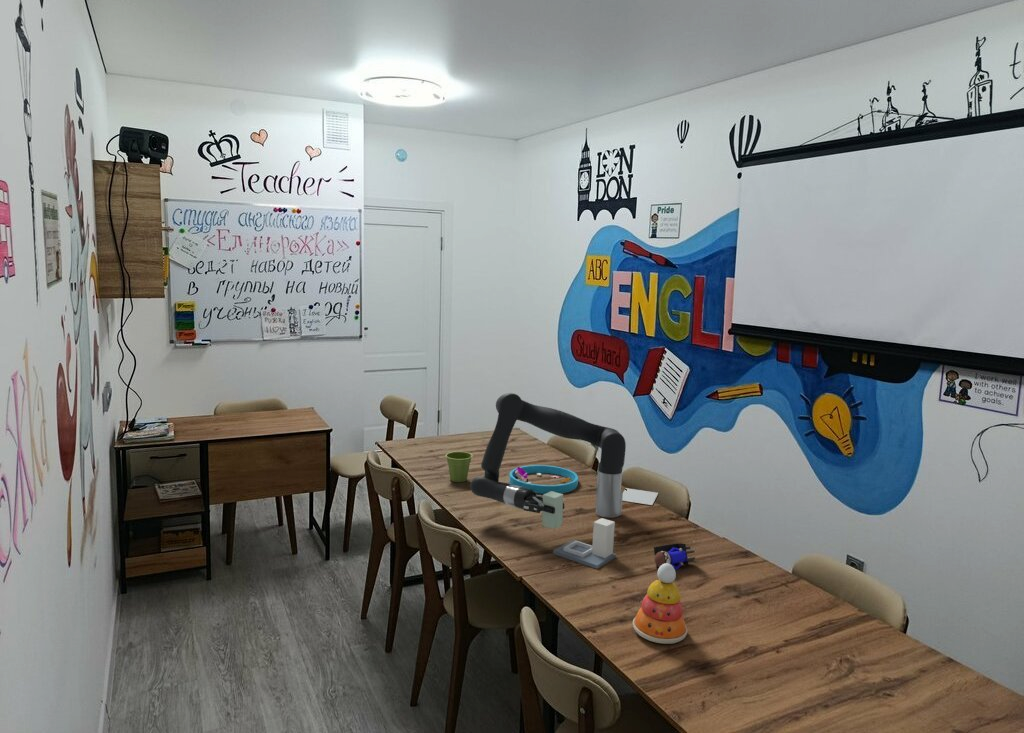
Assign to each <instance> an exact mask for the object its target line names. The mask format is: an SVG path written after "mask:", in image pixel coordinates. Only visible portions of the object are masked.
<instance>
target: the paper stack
mask: <svg viewBox="0 0 1024 733" xmlns="http://www.w3.org/2000/svg"><path fill="white" fill-rule="evenodd" d="M625 489H627V491H626V490H625ZM625 489H624V490H623V499H622V502H630V503H636V504H642V505H650V506H653V504H654V503H655V500H656V499H657V496H658V495H659V492H655V491H649V490H643V489H635V488H628V487H626V488H625Z"/></svg>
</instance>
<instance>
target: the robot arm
mask: <svg viewBox="0 0 1024 733" xmlns="http://www.w3.org/2000/svg"><path fill="white" fill-rule="evenodd" d="M495 408H496V411H497V413H498V416H497V421H496V424H495V428H494V430H493V432H492V434H491V437H490V438H489V442H488V443H487V446H486V449H485V451H484V454H483V458H482V461H481V465H480V467H481V469H482V470H484V476H476V477H474V478H473V479H472V480H471V482H470V486H469V487H470V491H471V492H472V493H473V494H474V495H475V496H478V497H482V498H485V499H486V498H487V499H491V500H493V501H496V502H499V503H503V504H506V505H508V506H511V507H514V508H516V509H519V510H522V511H526V512H529V513H530V512H531V513H536V514H540V513H542V512H548V513H551V514H554V513H555V507H552V506H548V505H545V504H543V495H542V494H537V493H535V492H534V491H533V490H532V489H528V488H525V487H521V486H517V485H511V484H510V483H507V482H500V481H499V479H500V468H501V466H502V463H503V459H504V457H505V453H506V449H507V446H508V443H509V439H510V436H511V433H512V432H513V429H514V426H515V424H516V422H517V421H520V422H524V423H527V424H530V425H532V426H534V427H536V428H538V429H540V430H542V431H544V432H547V433H550V434H551V435H555V436H558V437H561V438H565V439H569V440H576V441H577V440H578V441H579V440H580V441H584V442H587V443H589V444H592V445H594V446H596V447H598V448H600V449H601V453H600V460H599V462H598V465H597V481H596V482H597V483H596V498H595V500H596V501H595V514H596V515H597V516H599V517H601V518H605V519H609V518H610V519H611V518H617V517H619V516H622V512H623V511H622V510H623V501H622V499H623V492H624V490H622V479H623V478H622V477H623V468H624V465H625V459H626V458H625V457H626V448H627V447H626V445H627V443H626V439H625V437H624V436H623V434H621V432H619V430H617V429H614V428H611V427H606V426H602V425H599V424H595V423H591V422H588V421H587V420H584V419H582V418H580V417H577V416H575V415H573V414H570V413H568V412H565V411H562V410H560V409H555V408H552V407H548V406H547V407H546V406H543V405H542V406H541V405H536V404H532V403H530V402H528V401H525V400H523V399H522V398H521V396H519V395H518V394H516V393H512V392H510V393H509V392H508V393H504V394H502V395H500V396H499V397H498V398H497V400H496V401H495ZM564 509H565V502H563V510H564Z"/></svg>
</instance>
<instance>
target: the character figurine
mask: <svg viewBox="0 0 1024 733" xmlns="http://www.w3.org/2000/svg"><path fill="white" fill-rule="evenodd" d="M691 549H692V548H691V545H686V543H682V542H681V543H679V542H677V543H671V544H665V545H659V546H657V545H656V546H653V552H654V563H655V566H656V569H659V567H660V566H661V565H662V564H665V563H668V564H670V565H672V566H673V568H674V569H675V571H678V570H679V568H680V567H681V566H683V565H684V566H685V565H686V566H689V563H693V562H695V560H696V557H693V556H692V557H688V554H694V553H695V550H694V549H692V550H691Z"/></svg>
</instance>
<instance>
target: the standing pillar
mask: <svg viewBox="0 0 1024 733" xmlns="http://www.w3.org/2000/svg"><path fill="white" fill-rule="evenodd" d="M615 523H616V522H615V521H613V520H609V519H608V518H604V517H601V518H599V519H596V520H595V521H593V528H592V529H593V530H592V554H594V555H597V556H600V557H603V558H606V557H608V556H610V555H611V554H613V553H614V542H615V541H614V540H615V526H616V525H615Z"/></svg>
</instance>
